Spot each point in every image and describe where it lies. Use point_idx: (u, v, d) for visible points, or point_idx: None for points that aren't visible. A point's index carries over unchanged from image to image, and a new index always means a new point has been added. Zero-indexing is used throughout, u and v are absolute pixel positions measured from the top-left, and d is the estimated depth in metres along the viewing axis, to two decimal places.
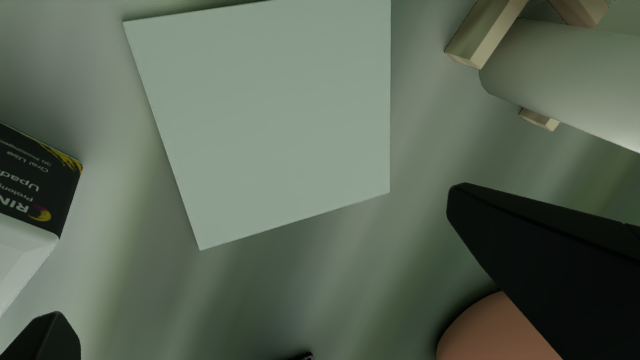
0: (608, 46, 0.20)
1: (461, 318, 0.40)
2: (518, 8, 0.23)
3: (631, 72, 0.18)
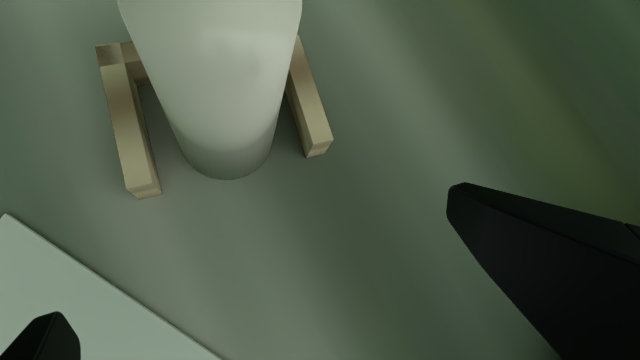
0: None
1: None
2: (129, 113, 0.20)
3: None
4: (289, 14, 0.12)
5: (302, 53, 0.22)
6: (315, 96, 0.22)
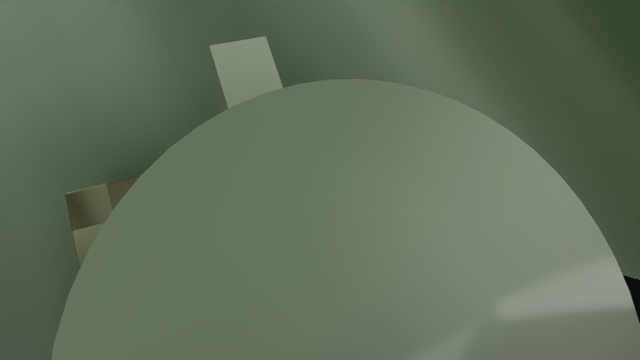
0: None
1: None
2: None
3: None
4: None
5: None
6: None
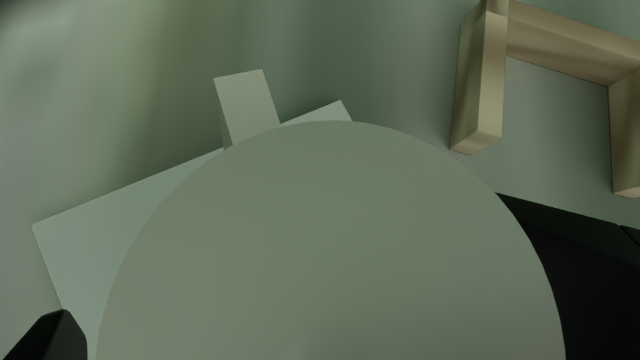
0: None
1: None
2: (499, 63, 0.19)
3: None
4: None
5: None
6: None
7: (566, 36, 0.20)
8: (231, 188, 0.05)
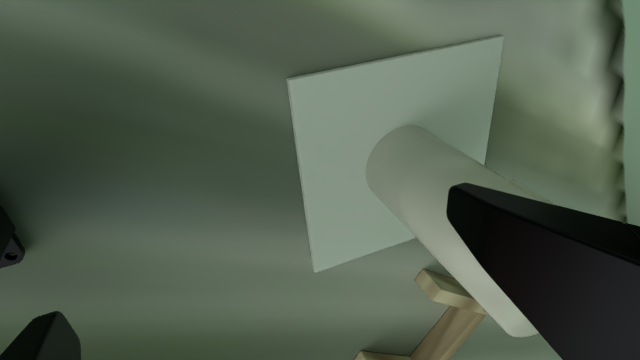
0: (509, 181, 0.19)
1: None
2: (462, 305, 0.33)
3: None
4: (520, 331, 0.16)
5: None
6: None
7: (456, 340, 0.35)
8: None
